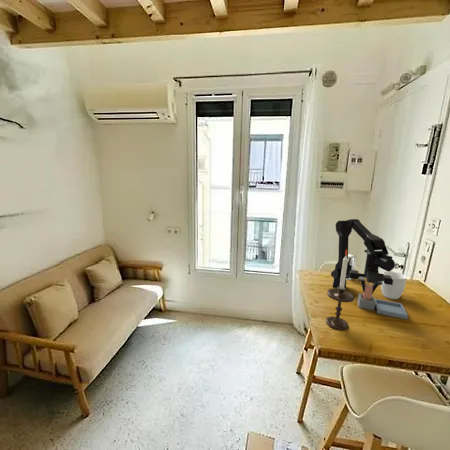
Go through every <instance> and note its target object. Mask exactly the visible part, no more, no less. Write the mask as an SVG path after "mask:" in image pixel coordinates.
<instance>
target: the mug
mask: <svg viewBox="0 0 450 450" xmlns="http://www.w3.org/2000/svg"><path fill="white" fill-rule="evenodd" d="M382 274H384V275H389V276H391V277H392V279H393V285H388V284H385V283H384V281H383V282H382V285H380V288H381V293H382V296H384V297H385V298H387V299H390V300H398V299H399V298H401V297H402V295H403V293H404V291H405V289H406V288H405V287H406V284H407V276H406V275H405V274H403V273H400V272H398V271H393V270H391V271H386V270H384V271H383V272H382Z"/></svg>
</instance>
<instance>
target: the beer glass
mask: <svg viewBox="0 0 450 450" xmlns="http://www.w3.org/2000/svg"><path fill="white" fill-rule="evenodd" d="M348 263H349V264H350V265H352V270H356V265H357V255H355V254H352V253H348ZM346 280H349V281H351V280H353V279H351V278H349V279H348V278H346Z"/></svg>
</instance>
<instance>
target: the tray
mask: <svg viewBox="0 0 450 450" xmlns="http://www.w3.org/2000/svg"><path fill="white" fill-rule="evenodd" d="M374 299H375V308H374V309H375V311H376V313H377V315H383V316H387V317H393V318H397V319H403V320H408V317H409V316H408V315H409V314H408V313H407V311H406V309H405V307H404V306H403V304H402V303H400V302H394V301H389V300H384V299H377V298H374Z"/></svg>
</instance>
